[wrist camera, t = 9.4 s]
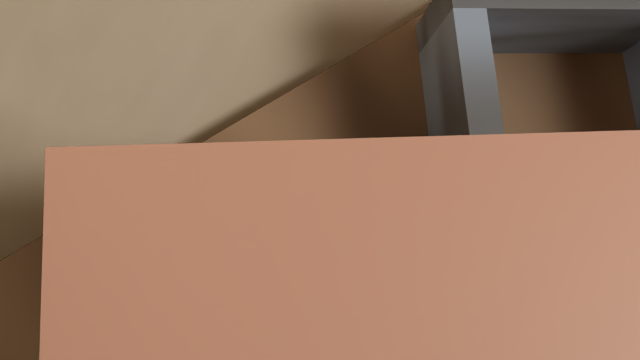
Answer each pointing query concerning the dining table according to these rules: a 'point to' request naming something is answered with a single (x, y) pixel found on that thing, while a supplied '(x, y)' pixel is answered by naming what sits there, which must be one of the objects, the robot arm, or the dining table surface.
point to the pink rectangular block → (345, 249)
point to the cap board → (366, 115)
